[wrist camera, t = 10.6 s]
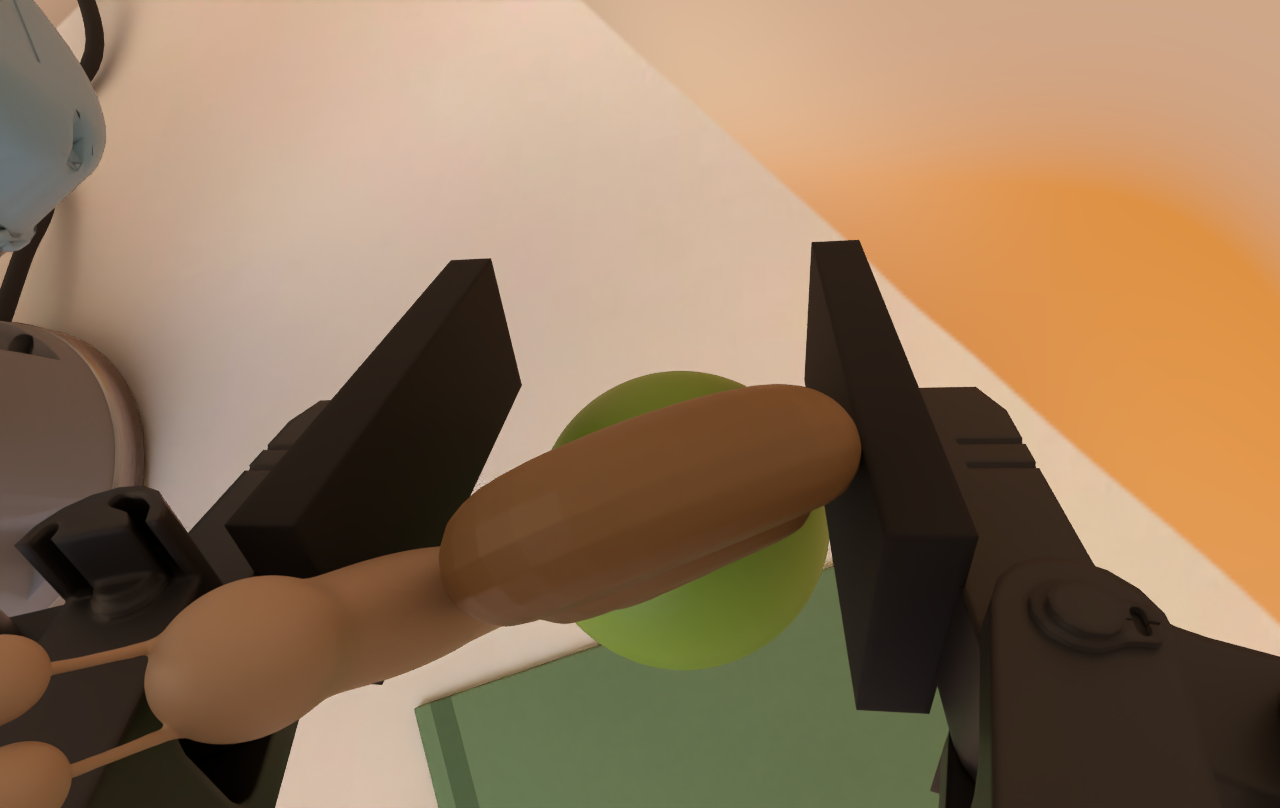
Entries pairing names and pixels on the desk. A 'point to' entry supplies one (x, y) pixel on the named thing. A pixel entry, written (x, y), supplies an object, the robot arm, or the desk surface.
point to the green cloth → (685, 732)
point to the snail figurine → (510, 571)
